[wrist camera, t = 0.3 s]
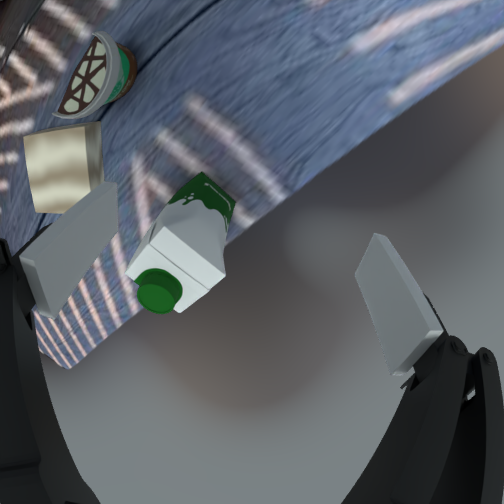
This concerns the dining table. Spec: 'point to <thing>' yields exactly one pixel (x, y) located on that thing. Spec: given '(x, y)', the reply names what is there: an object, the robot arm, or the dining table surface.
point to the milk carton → (183, 248)
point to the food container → (98, 78)
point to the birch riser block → (64, 165)
